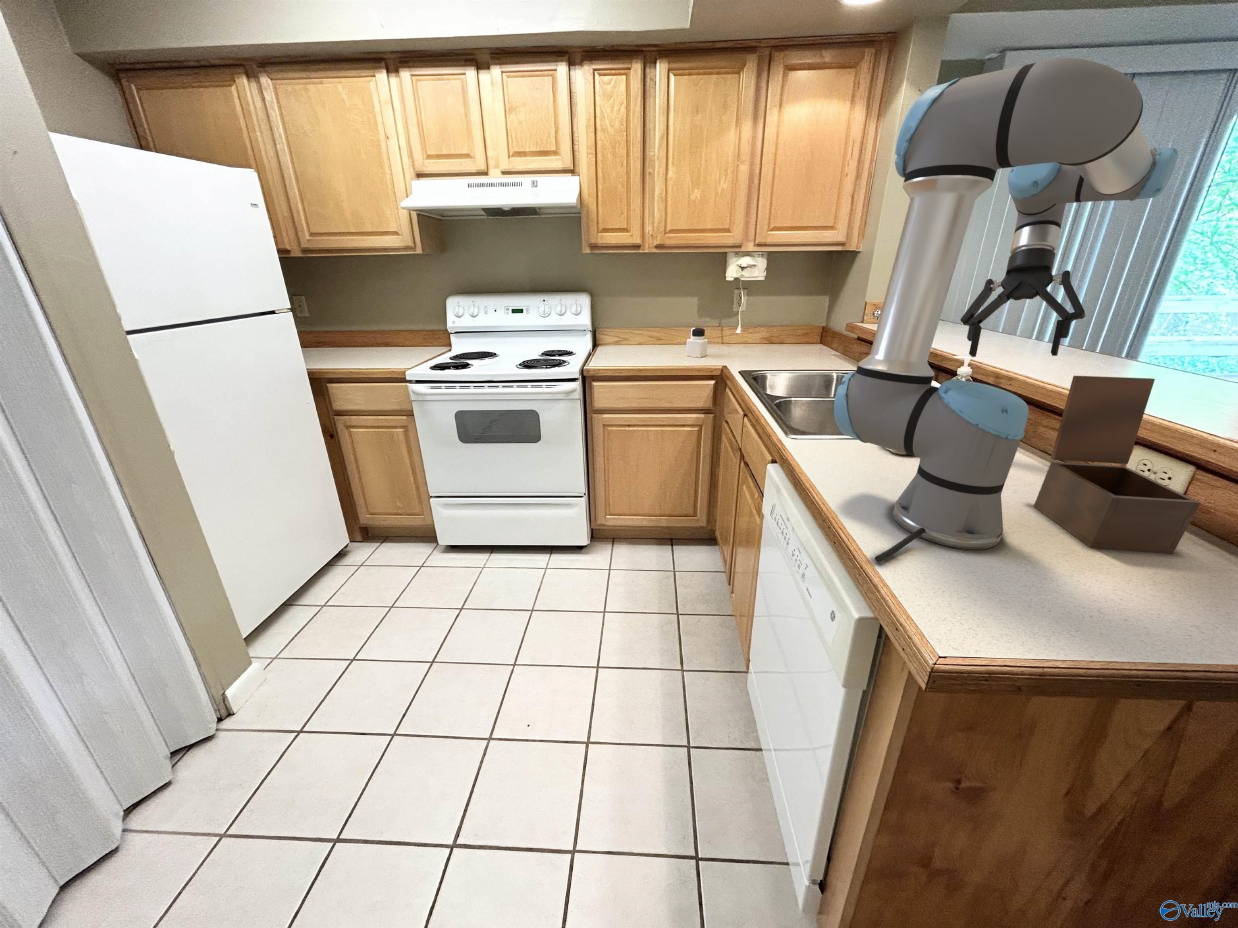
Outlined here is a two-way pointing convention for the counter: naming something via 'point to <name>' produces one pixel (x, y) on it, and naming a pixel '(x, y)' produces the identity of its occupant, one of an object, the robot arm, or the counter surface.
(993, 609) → the counter surface
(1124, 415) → the lid
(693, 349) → the medicine bottle
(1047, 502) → the chest
